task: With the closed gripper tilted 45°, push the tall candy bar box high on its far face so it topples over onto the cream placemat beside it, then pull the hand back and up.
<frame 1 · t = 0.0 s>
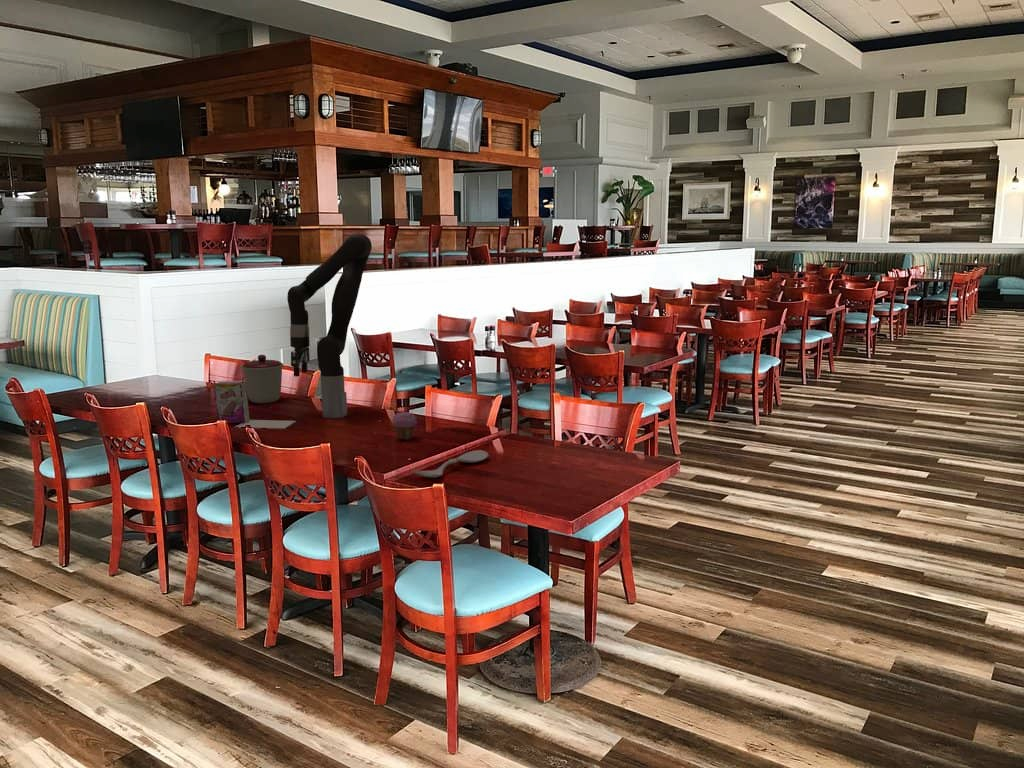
hand: (300, 374, 335), 17 cm above the table, tool pointing down, fingers open, 8 cm apart
spoon: (454, 470, 262), on the table
canister: (264, 401, 367), on the table
candy bar box: (234, 422, 327), on the table, touching placemat
placemat: (265, 424, 323), on the table
cupcake: (405, 439, 300), on the table
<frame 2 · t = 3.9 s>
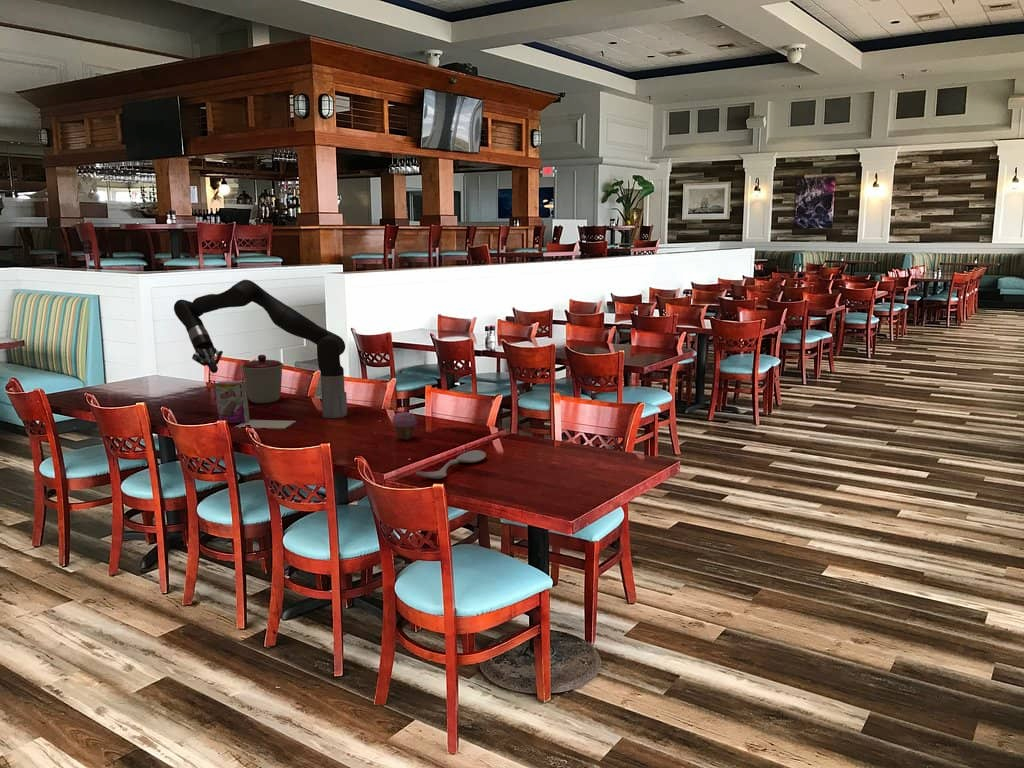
hand: (215, 371, 334), 19 cm above the table, tool tilted 45°, fingers closed
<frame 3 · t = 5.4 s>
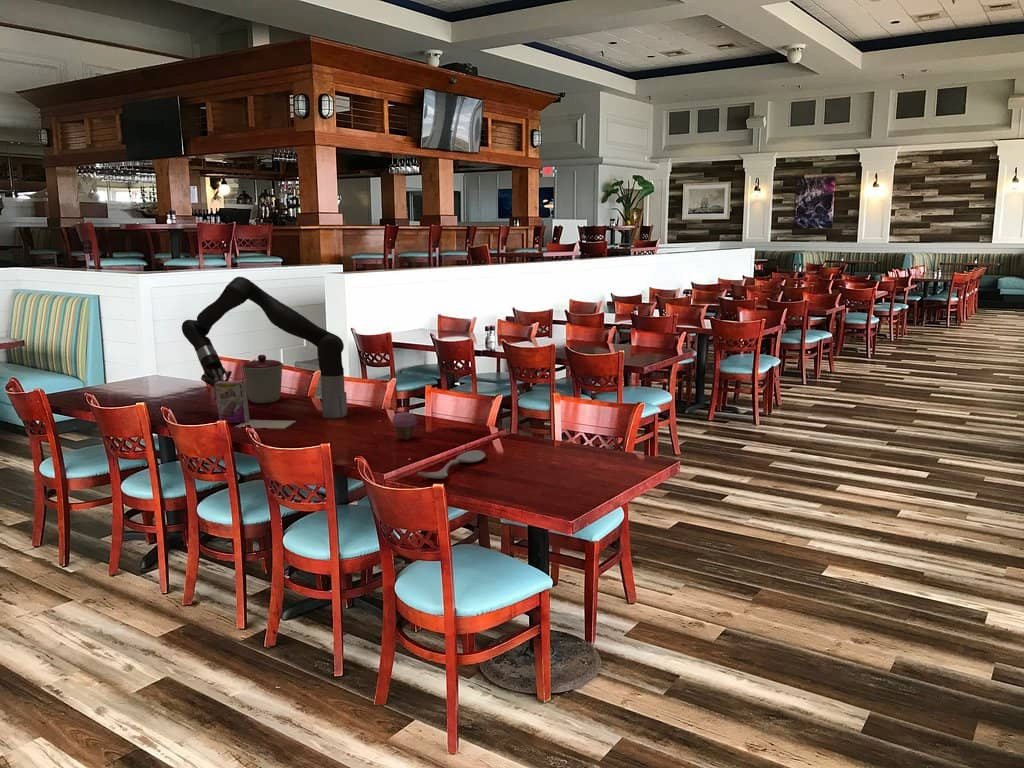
hand: (224, 392, 330), 11 cm above the table, tool tilted 45°, fingers closed
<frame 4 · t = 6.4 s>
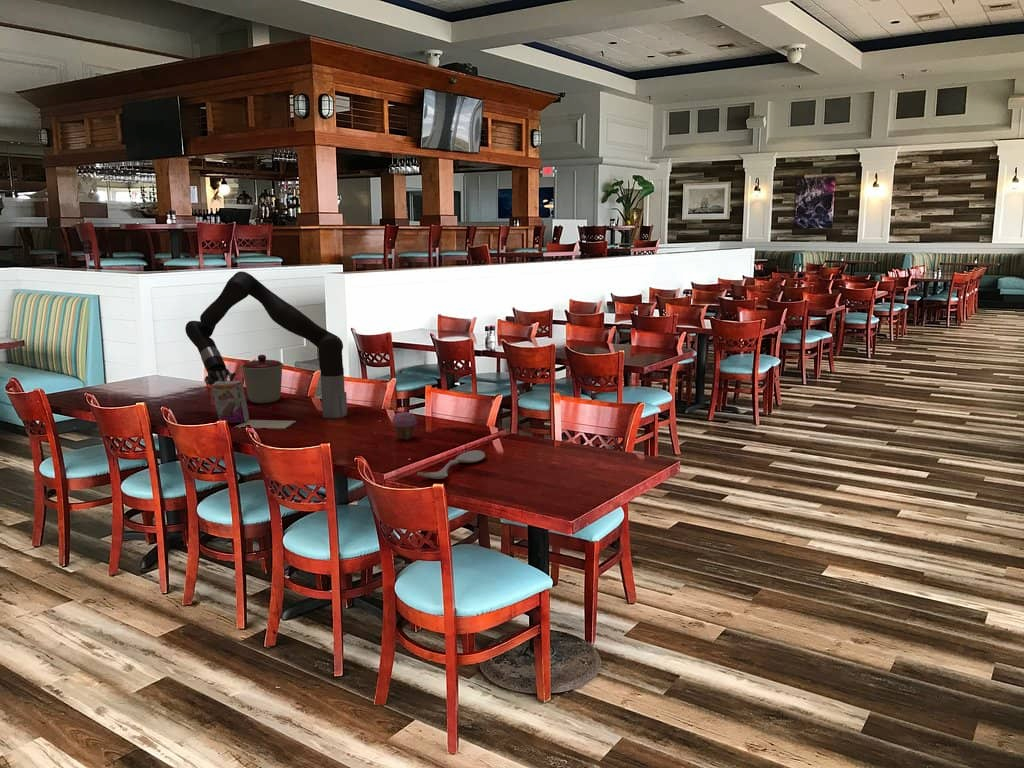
hand: (227, 394, 326), 11 cm above the table, tool tilted 45°, fingers closed
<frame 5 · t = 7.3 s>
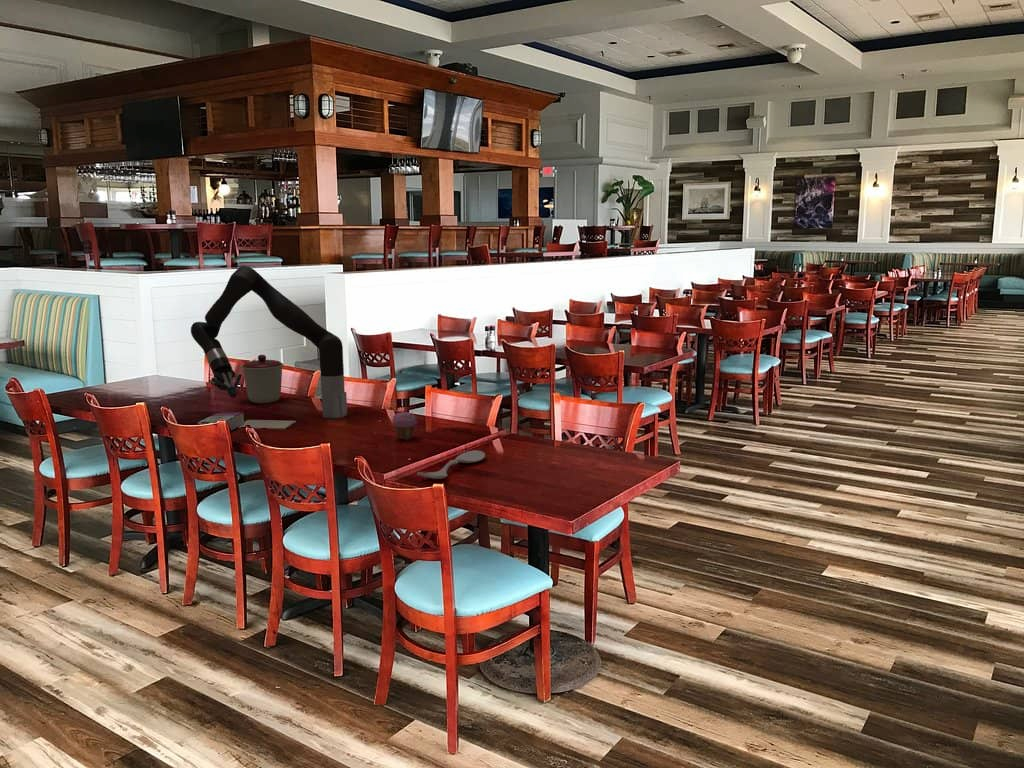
hand: (234, 396, 322), 11 cm above the table, tool tilted 45°, fingers closed
candy bar box: (231, 418, 324), point 2 cm above the table, touching placemat
everything else where it was.
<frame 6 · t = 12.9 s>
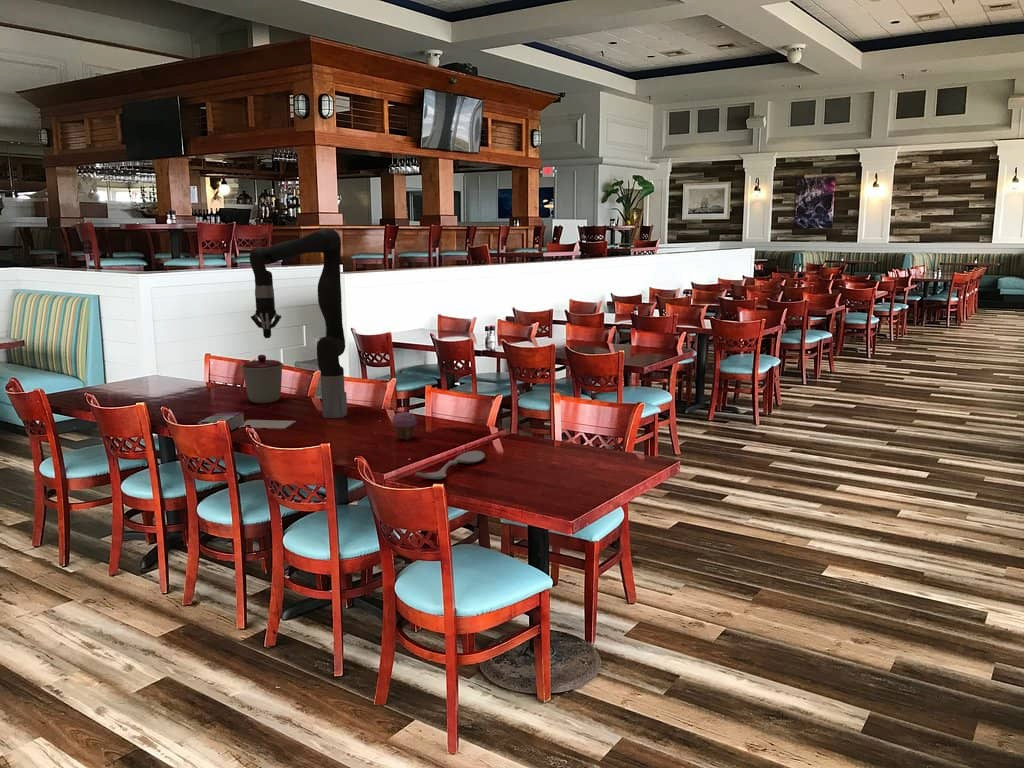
hand: (267, 338, 342), 31 cm above the table, tool pointing down, fingers closed
at the end: candy bar box tilted 89°; candy bar box touching placemat, table; candy bar box inside the target area (5.2 cm from its centre), point 2.5 cm above the table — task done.
